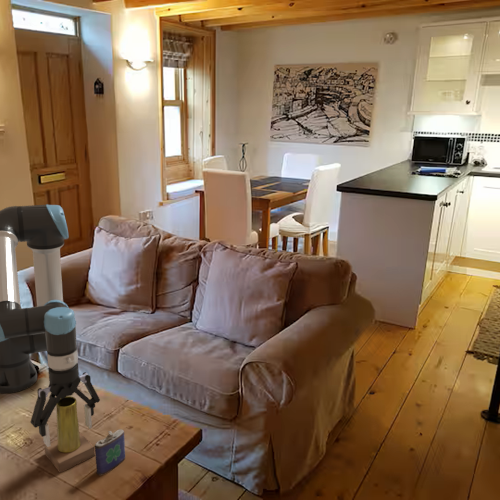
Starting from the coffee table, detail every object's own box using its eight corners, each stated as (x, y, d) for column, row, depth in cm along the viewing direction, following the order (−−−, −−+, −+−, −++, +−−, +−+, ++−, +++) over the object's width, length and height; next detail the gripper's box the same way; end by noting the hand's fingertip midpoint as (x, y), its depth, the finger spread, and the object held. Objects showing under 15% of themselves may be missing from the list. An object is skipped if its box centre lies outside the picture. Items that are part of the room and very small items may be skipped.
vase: (65, 456, 130) (62, 410, 126) (53, 446, 133) (49, 402, 130) (84, 445, 134) (82, 400, 131) (72, 436, 138) (69, 392, 134)
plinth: (45, 454, 135) (44, 444, 134) (78, 438, 142) (78, 430, 141) (60, 472, 128) (59, 463, 127) (94, 455, 135) (94, 446, 134)
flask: (121, 454, 136) (120, 422, 133) (128, 459, 134) (127, 426, 131) (94, 472, 128) (92, 438, 126) (101, 477, 127) (99, 443, 124)
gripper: (22, 385, 117) (30, 461, 122) (110, 356, 133) (113, 423, 138) (11, 374, 122) (19, 446, 128) (97, 346, 138) (101, 412, 144)
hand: (68, 435), depth 133 cm, fingers open, 11 cm apart
